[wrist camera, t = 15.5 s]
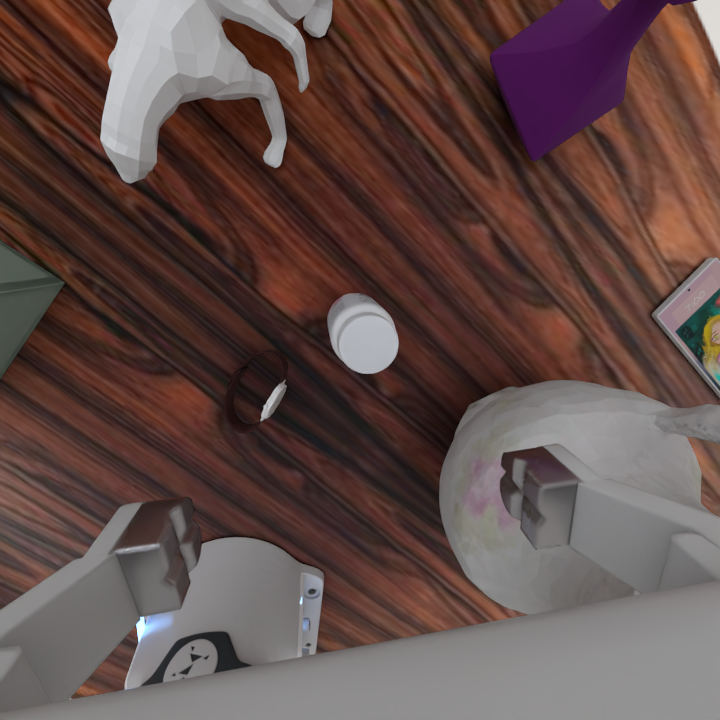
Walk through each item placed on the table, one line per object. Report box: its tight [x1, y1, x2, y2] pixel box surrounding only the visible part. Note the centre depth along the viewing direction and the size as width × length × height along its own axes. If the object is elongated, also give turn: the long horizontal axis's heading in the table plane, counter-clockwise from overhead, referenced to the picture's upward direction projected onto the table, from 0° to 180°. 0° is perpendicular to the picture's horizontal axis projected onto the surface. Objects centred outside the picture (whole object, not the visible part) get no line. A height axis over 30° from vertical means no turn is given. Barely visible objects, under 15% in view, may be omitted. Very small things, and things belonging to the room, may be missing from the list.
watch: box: [224, 350, 288, 433], centre depth 30 cm, size 8×5×4 cm, turn 151°
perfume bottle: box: [490, 0, 696, 161], centre depth 19 cm, size 8×8×18 cm
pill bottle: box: [327, 293, 399, 374], centre depth 27 cm, size 5×5×8 cm
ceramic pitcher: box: [439, 380, 720, 615], centre depth 25 cm, size 22×20×25 cm
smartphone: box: [652, 258, 720, 398], centre depth 36 cm, size 7×1×15 cm
